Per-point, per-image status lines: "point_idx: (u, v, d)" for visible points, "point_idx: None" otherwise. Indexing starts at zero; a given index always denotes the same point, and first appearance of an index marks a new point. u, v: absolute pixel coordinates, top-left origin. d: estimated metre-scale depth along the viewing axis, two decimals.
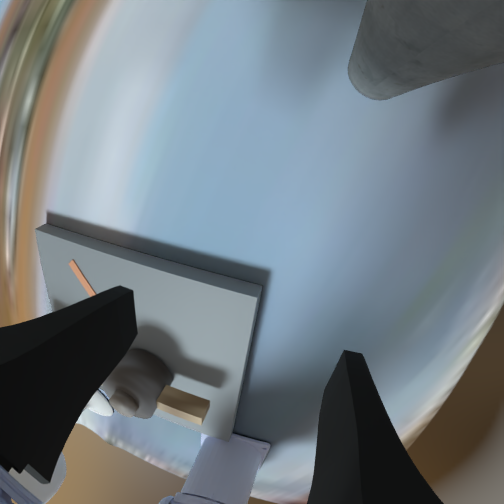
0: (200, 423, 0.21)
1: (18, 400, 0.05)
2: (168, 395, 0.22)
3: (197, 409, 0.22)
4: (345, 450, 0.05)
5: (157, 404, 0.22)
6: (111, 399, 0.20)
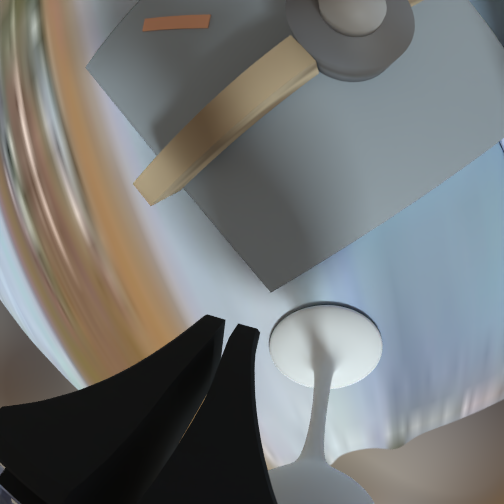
0: None
1: (129, 474, 0.04)
2: None
3: None
4: None
5: None
6: None
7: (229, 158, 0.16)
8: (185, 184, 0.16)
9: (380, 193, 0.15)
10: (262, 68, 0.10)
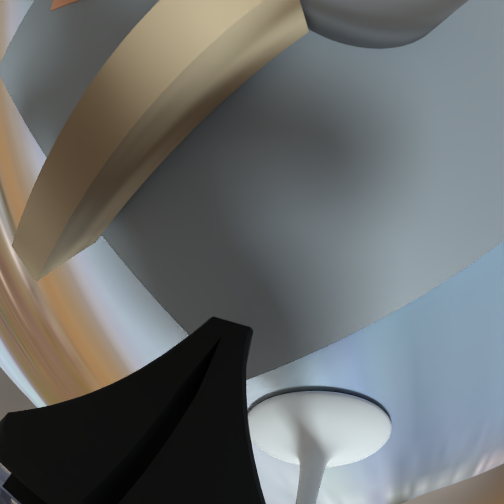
0: None
1: (139, 478, 0.04)
2: None
3: None
4: None
5: None
6: None
7: (159, 192, 0.09)
8: (98, 235, 0.10)
9: (417, 253, 0.08)
10: (169, 12, 0.04)
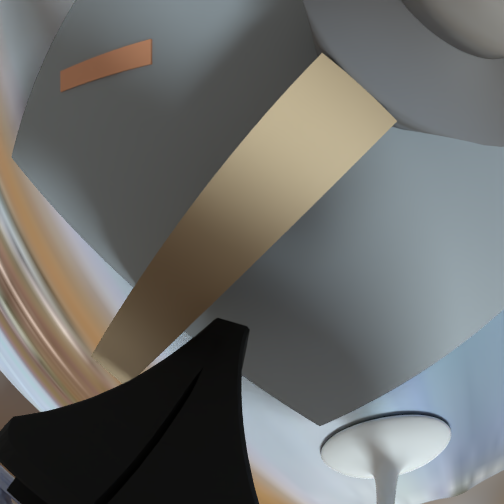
0: None
1: None
2: None
3: None
4: None
5: None
6: None
7: (235, 285, 0.10)
8: None
9: (470, 303, 0.08)
10: (264, 154, 0.05)
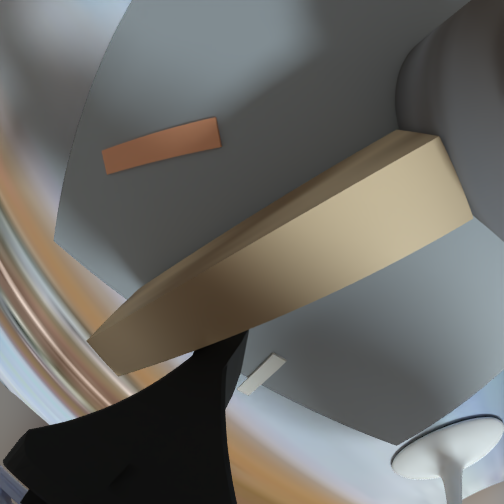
0: None
1: None
2: None
3: None
4: None
5: None
6: None
7: (328, 351, 0.10)
8: None
9: None
10: (355, 212, 0.05)
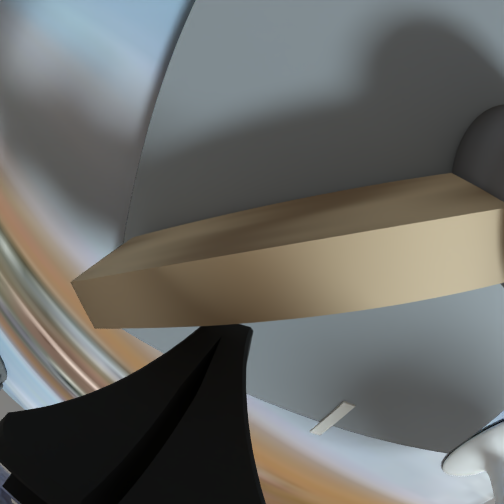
0: None
1: (139, 478, 0.04)
2: None
3: None
4: None
5: None
6: None
7: (391, 393, 0.11)
8: None
9: None
10: (425, 244, 0.04)
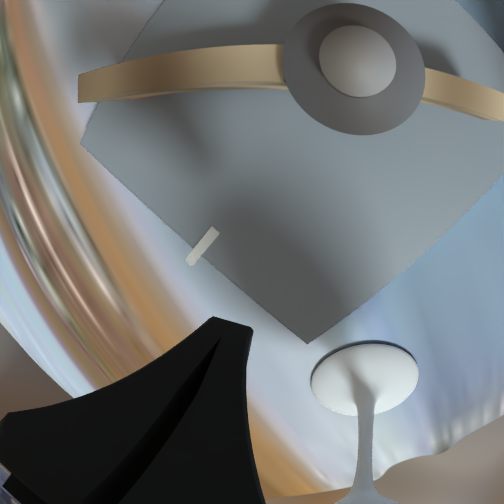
0: (502, 113, 0.08)
1: (139, 478, 0.04)
2: None
3: None
4: None
5: None
6: (332, 36, 0.07)
7: (248, 227, 0.16)
8: (122, 99, 0.14)
9: (402, 240, 0.14)
10: (235, 55, 0.09)
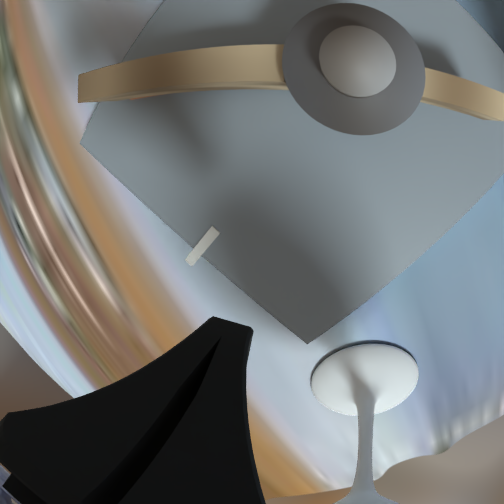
0: (502, 113, 0.08)
1: (139, 478, 0.04)
2: None
3: None
4: None
5: None
6: (332, 36, 0.07)
7: (248, 227, 0.16)
8: (122, 99, 0.14)
9: (402, 239, 0.14)
10: (235, 54, 0.09)
